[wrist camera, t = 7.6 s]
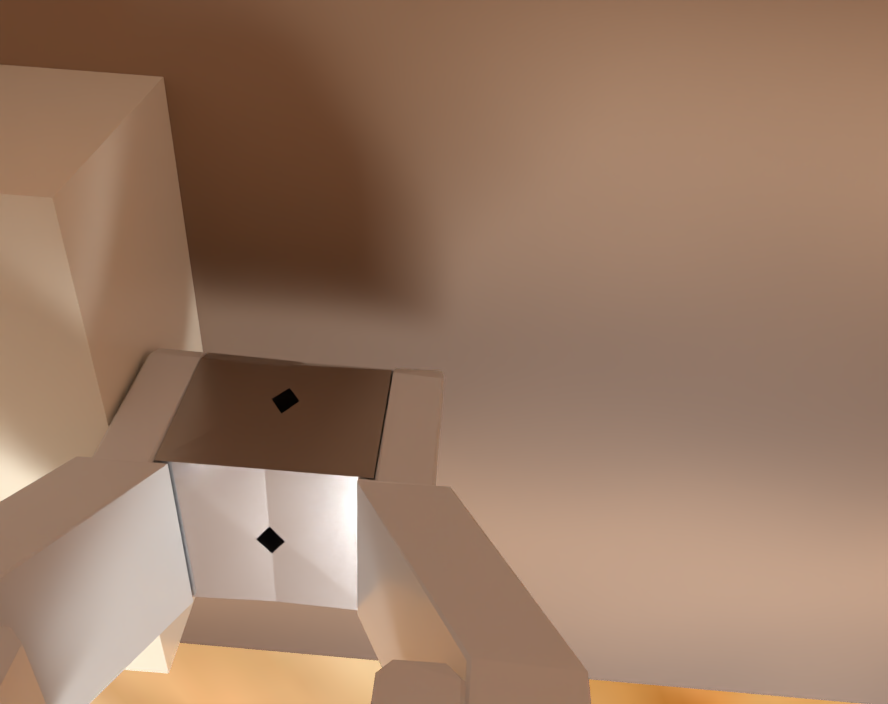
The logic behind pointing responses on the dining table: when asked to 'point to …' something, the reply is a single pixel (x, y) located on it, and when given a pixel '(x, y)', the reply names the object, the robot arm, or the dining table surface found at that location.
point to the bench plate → (565, 292)
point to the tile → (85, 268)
